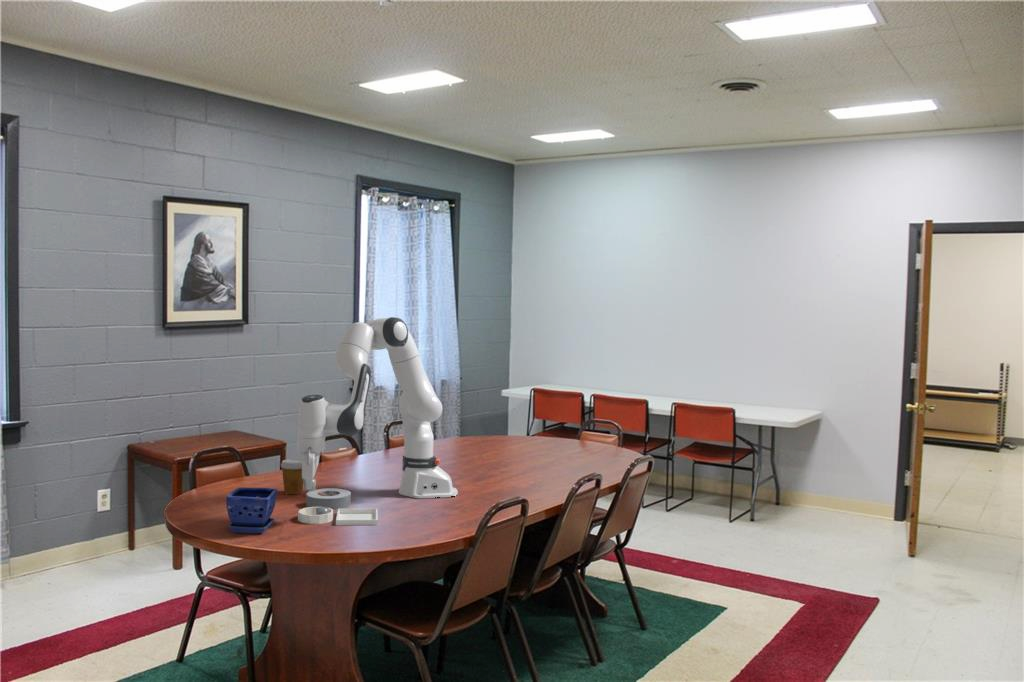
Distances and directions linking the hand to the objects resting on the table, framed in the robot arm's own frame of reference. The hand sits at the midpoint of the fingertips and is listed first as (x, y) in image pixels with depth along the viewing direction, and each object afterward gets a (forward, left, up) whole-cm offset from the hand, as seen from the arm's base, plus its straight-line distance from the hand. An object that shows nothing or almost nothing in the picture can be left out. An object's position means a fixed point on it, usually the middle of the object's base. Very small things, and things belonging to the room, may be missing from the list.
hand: (309, 487), depth 272 cm
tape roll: (-5, -20, -12) cm, 23 cm away
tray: (-16, 0, -11) cm, 19 cm away
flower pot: (+17, +9, -12) cm, 22 cm away
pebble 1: (0, 0, -1) cm, 1 cm away
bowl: (-2, 0, -11) cm, 12 cm away
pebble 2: (-4, 0, -11) cm, 11 cm away
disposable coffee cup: (+9, -39, -12) cm, 42 cm away
